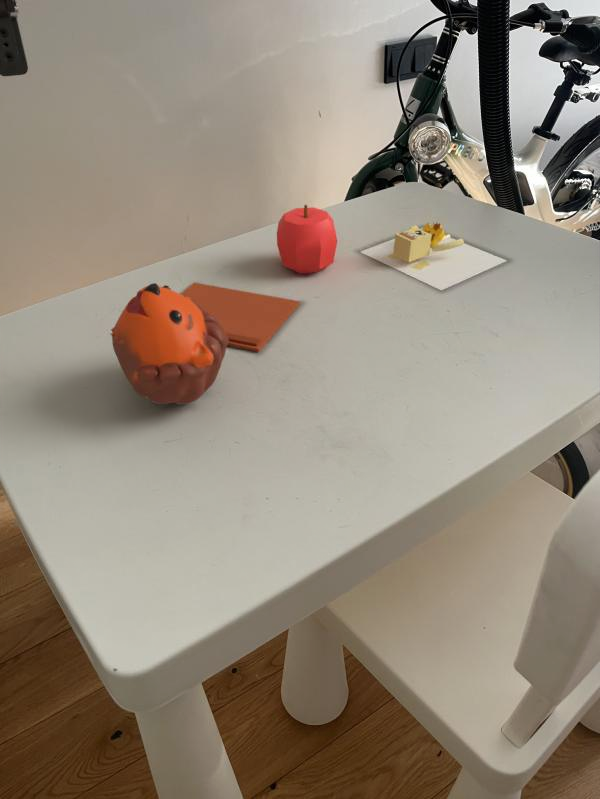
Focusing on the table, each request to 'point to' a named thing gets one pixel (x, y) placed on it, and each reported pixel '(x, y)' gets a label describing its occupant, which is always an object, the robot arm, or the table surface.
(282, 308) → the book
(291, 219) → the apple
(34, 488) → the table surface
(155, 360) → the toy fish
